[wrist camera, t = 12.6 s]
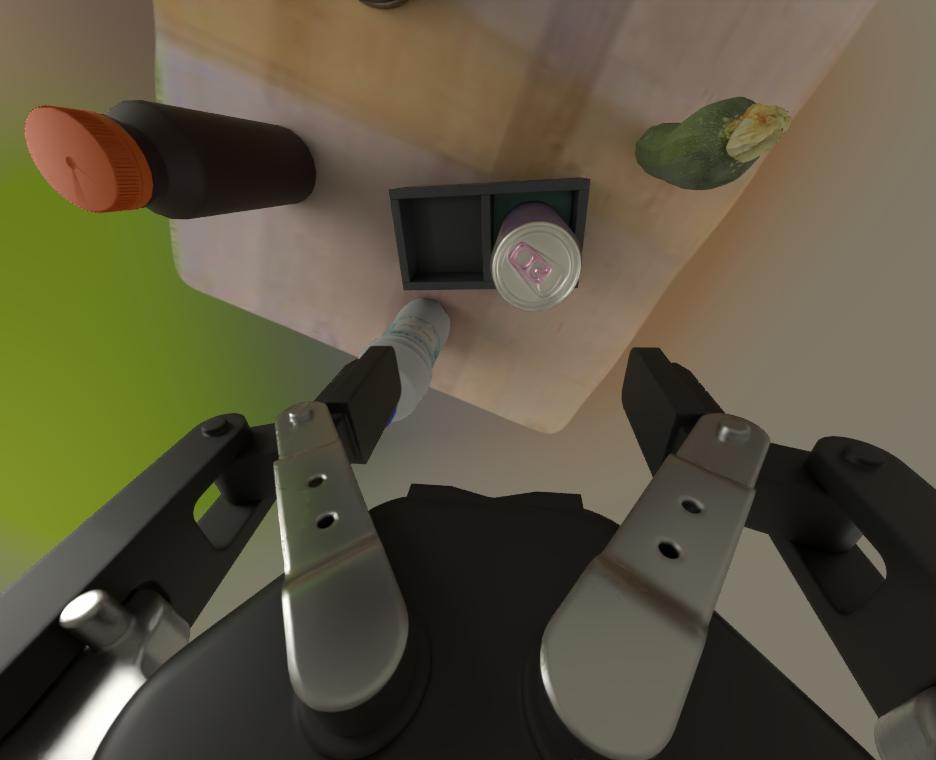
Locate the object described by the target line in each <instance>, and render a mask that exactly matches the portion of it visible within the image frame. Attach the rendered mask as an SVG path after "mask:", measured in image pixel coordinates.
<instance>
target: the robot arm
mask: <svg viewBox="0 0 936 760" xmlns="http://www.w3.org/2000/svg"><path fill="white" fill-rule="evenodd" d="M359 1H361V2H362V3H364V4H366V5H368V6H371V7H374V8H378V9H390V8H395V7H398V6H400V5H402V4H404V3H406V2H407V1H409V0H359ZM400 397H401V380H400V375H399V369H398V364H397V359H396V353H395V350H394V348H393V346H370V347H369V348H368V349H367V350H366V352H365V353H364V354H363V355H362V356H361V357H360V359H356V360H354V361H352V362H351V363H349V364H347V365H346V366H345V367H344V368H343V369H342V370H341V371H340V372H339V373H338V375H337V376H336V377H335V378H334V379H333V380H332V382H330V383H329V385H328V386H327V387H326V388H325V389H324V390H323V391H322V392H321V393H320V395H319V396H318V397H317V398H316V399H315V400H314V401H307V402H302V403H299V404H296V405H293V406H291V407H289V408H287V409H286V410H284V411H283V412H281V413H280V414H279V415H278V416H277V418H276V420H275V423H273V424H267V425H261V426H255V427H249V425H248V423H247V421H246V419H245V417H244V416H243V415H241V414H237V413H231V414H224V415H219V416H216V417H214V418H211V419H208V420H207V421H204V422H202V423H201V424H199V425H197V426H196V427H195V428H193V429H192V430H191V431H190V432H189V433H188V434H186V435H185V436H184V437H183V438H182V439H181V440H179V441H178V442H177V443H176V444H175V445H174V446H172V447H171V448H170V449H169V450H168V451H167V452H166V453H164V454H163V455H162V456H161V457H160V458H158V459H157V460H156V461H155V462H154V463H153V464H151V465H150V466H149V467H148V468H147V469H146V470H144V472H142V473H141V474H140V475H139V476H137V477H136V478H135V479H134V480H133V481H132V482H130V483H129V484H128V485H127V486H126V487H125V488H124V489H122V490H121V491H120V492H119V493H118V494H116V495H115V496H114V497H113V498H112V499H111V500H110V501H108V502H107V503H106V504H105V505H104V506H102V507H101V508H100V509H99V510H98V511H97V512H95V513H94V514H93V515H92V516H91V517H90V518H88V519H87V520H86V521H85V522H84V523H83V524H81V525H80V526H79V527H78V528H77V529H76V530H74V531H73V532H72V533H71V534H70V535H69V536H67V537H66V538H65V539H64V540H63V541H62V542H60V543H59V544H58V545H57V546H56V547H55V548H54V549H52V550H51V551H50V552H49V553H48V554H46V555H45V556H44V557H43V558H42V559H41V560H40V561H38V562H37V563H36V564H35V565H34V566H32V567H31V568H30V569H29V570H28V571H27V572H25V573H24V574H23V575H22V576H21V577H20V578H18V579H17V580H16V581H15V582H14V583H13V584H11V585H10V586H9V587H8V588H7V589H6V590H4V591H3V592H2V593H1V594H0V760H875V759H874V758H873V757H872V756H871V755H870V754H869V753H868V752H867V751H866V750H865V749H864V748H863V747H862V746H861V745H860V744H859V743H858V742H857V741H855V740H854V739H853V738H852V737H851V736H850V735H849V734H848V733H847V732H846V731H845V730H844V729H843V728H841V727H840V726H839V725H838V724H837V723H836V722H835V721H834V720H833V719H832V718H831V717H829V716H828V715H827V714H826V713H825V712H824V711H823V710H822V709H821V708H820V707H819V706H818V705H816V704H815V703H814V702H813V701H812V700H811V699H810V698H809V697H808V696H807V695H806V694H805V693H804V692H803V691H801V690H800V689H799V688H798V687H797V686H796V685H795V684H794V683H793V682H791V680H789V679H788V678H787V677H786V676H785V675H784V674H783V673H782V672H781V671H780V670H779V669H777V667H775V666H774V665H773V664H772V663H771V662H770V661H769V660H768V659H767V658H766V657H765V656H764V655H762V654H761V653H760V652H759V651H758V650H757V649H756V648H755V647H754V646H753V645H752V644H751V643H749V642H748V641H747V640H746V639H745V638H744V637H743V636H742V635H741V634H740V633H739V632H738V631H737V630H735V629H734V628H733V627H732V626H731V625H730V624H729V623H728V622H727V621H726V620H725V619H724V618H722V617H721V616H720V615H719V614H718V613H717V612H716V611H715V610H714V608H715V605H716V603H717V600H718V597H719V594H720V592H721V588H722V586H723V583H724V580H725V578H726V575H727V572H728V569H729V566H730V564H731V561H732V558H733V555H734V552H735V549H736V547H737V544H738V541H739V539H740V535H741V533H742V530H743V527H747V528H750V529H753V530H757V531H760V532H763V533H766V534H769V536H770V538H771V540H772V541H773V543H774V544H775V546H776V548H777V549H778V551H779V553H780V555H781V556H782V558H783V560H784V561H785V563H786V564H787V566H788V568H789V570H790V571H791V573H792V575H793V576H794V578H795V580H796V581H797V583H798V585H799V586H800V588H801V590H802V591H803V593H804V595H805V596H806V598H807V600H808V601H809V603H810V604H811V606H812V608H813V610H814V611H815V613H816V615H817V616H818V618H819V620H820V621H821V623H822V625H823V626H824V628H825V630H826V631H827V633H828V635H829V636H830V638H831V640H832V641H833V643H834V645H835V646H836V648H837V649H838V651H839V653H840V654H841V656H842V658H843V660H844V661H845V663H846V665H847V666H848V668H849V670H850V671H851V673H852V675H853V676H854V678H855V680H856V681H857V683H858V685H859V686H860V688H861V690H862V691H863V693H864V695H865V696H866V698H867V700H868V701H869V703H870V705H871V706H872V708H873V710H874V711H875V713H876V715H877V716H878V718H879V719H878V720H877V722H876V725H875V728H874V738H875V744H876V747H877V750H878V753H879V755H880V758H881V760H936V489H934V488H933V487H932V486H931V485H930V484H928V483H927V482H926V481H925V480H924V479H923V478H921V477H920V476H919V475H918V474H916V473H915V472H914V471H913V470H912V469H911V468H909V467H908V466H907V465H906V464H904V463H903V462H902V461H901V460H899V459H898V458H897V457H895V456H893V455H892V454H890V453H889V452H887V451H884V450H883V449H880V448H878V447H876V446H874V445H871V444H868V443H866V442H863V441H859V440H855V439H851V438H846V437H838V436H837V437H836V436H831V437H824V438H821V439H819V440H818V442H817V443H816V445H815V446H814V448H813V449H812V451H811V452H810V451H805V450H801V449H796V448H791V447H787V446H782V445H778V444H774V443H770V438H769V436H768V434H767V433H766V432H765V431H764V430H763V429H761V428H760V427H759V426H757V425H756V424H754V423H752V422H750V421H748V420H746V419H744V418H741V417H738V416H734V415H730V414H725V412H724V411H723V410H722V409H721V408H720V406H719V405H718V404H717V403H716V402H715V401H714V399H713V398H712V397H711V396H710V395H709V393H708V392H707V391H705V388H704V387H703V386H702V385H701V383H698V380H697V379H696V378H695V376H694V375H693V374H692V373H691V372H690V371H689V370H687V369H686V368H684V367H682V366H681V365H679V364H677V363H671V362H670V361H669V360H668V359H667V357H666V356H665V355H664V353H663V352H662V351H661V349H660V348H637V347H634V348H632V350H631V351H630V354H629V359H628V364H627V368H626V373H625V378H624V383H623V388H622V404H623V408H624V410H625V412H626V415H627V417H628V419H629V422H630V424H631V426H632V429H633V431H634V434H635V436H636V438H637V441H638V443H639V446H640V448H641V450H642V453H643V455H644V457H645V460H646V462H647V464H648V467H649V469H650V471H651V474H652V476H653V479H652V480H651V482H650V483H649V484H648V486H647V488H646V489H645V490H644V492H643V493H642V495H641V496H640V498H639V499H638V501H637V502H636V504H635V505H634V507H633V508H632V510H631V511H630V512H629V514H628V515H627V517H626V518H625V520H624V521H623V523H622V524H621V526H620V525H619V524H617V523H615V522H614V521H612V520H610V519H608V518H606V517H604V516H602V515H600V514H597V513H595V512H593V511H590V510H587V509H583V504H582V498H581V494H567V493H552V492H531V493H524V494H517V495H510V496H503V497H496V498H492V497H486V496H483V495H480V494H476V493H473V492H470V491H466V490H462V489H459V488H456V487H452V486H442V485H441V486H440V485H426V484H411V486H410V489H409V492H408V495H407V497H401V498H397V499H394V500H391V501H388V502H385V503H383V504H381V505H378V506H376V507H374V508H372V509H371V510H369V511H368V509H367V506H366V503H365V501H364V498H363V496H362V493H361V491H360V488H359V486H358V483H357V480H356V478H355V475H354V472H353V470H352V467H351V463H356V464H366V463H367V461H368V459H369V458H370V456H371V454H372V452H373V450H374V448H375V446H376V444H377V442H378V440H379V439H380V437H381V435H382V433H383V431H384V429H385V427H386V425H387V423H388V421H389V419H390V417H391V416H392V414H393V412H394V410H395V408H396V406H397V404H398V402H399V400H400ZM213 482H214V483H215V485H216V486H217V488H218V489H219V491H220V492H221V495H220V496H219V497H218V499H217V500H216V501H215V502H214V503H213V505H212V506H211V507H210V508H209V509H208V511H207V512H206V513H205V514H204V515H203V517H202V518H201V519H200V520H199V521H198V523H196V521H195V520H194V516H193V511H194V507H195V504H196V502H197V500H198V499H199V498H200V497H201V496H202V494H203V493H204V492H205V491H206V490H207V489H208V488H209V486H211V484H212V483H213ZM276 499H277V503H278V513H279V522H280V531H281V541H282V550H283V558H284V568H285V572H284V573H283V574H282V575H280V576H279V577H278V578H276V579H275V580H273V581H272V582H271V583H269V584H268V585H267V586H265V587H264V588H263V589H261V590H260V591H259V592H257V593H256V594H255V595H253V596H252V597H251V598H249V599H248V600H247V601H245V602H244V603H242V604H241V605H240V606H238V607H237V608H236V609H234V610H233V611H232V612H230V613H229V614H228V615H226V616H225V617H224V618H222V619H221V620H219V621H218V622H217V623H215V624H214V625H213V626H211V627H210V628H209V629H207V630H206V631H205V632H203V633H202V634H201V635H199V636H198V637H197V638H195V639H194V640H193V641H191V642H190V643H188V642H189V638H190V628H191V627H192V625H193V624H194V622H195V621H196V619H197V618H198V616H199V614H200V613H201V611H202V610H203V608H204V607H205V605H206V604H207V603H208V601H209V600H210V598H211V597H212V595H213V594H214V592H215V591H216V589H217V588H218V586H219V584H220V583H221V582H222V580H223V579H224V577H225V575H226V574H227V573H228V571H229V570H230V568H231V566H232V565H233V563H234V562H235V560H236V559H237V557H238V556H239V554H240V553H241V551H242V550H243V548H244V547H245V545H246V544H247V542H248V541H249V539H250V538H251V536H252V535H253V533H254V532H255V530H256V529H257V527H258V526H259V524H260V523H261V521H262V520H263V518H264V517H265V515H266V514H267V512H268V511H269V509H270V508H271V506H272V505H273V503H274V502H275V500H276ZM863 535H864V536H865V537H866V538H867V539H868V540H869V542H870V543H871V544H872V545H873V546H874V548H875V549H876V550H877V551H878V552H879V554H880V555H881V557H882V558H883V560H884V563H885V566H886V571H887V575H886V580H885V579H884V578H883V576H882V575H881V574H880V573H879V571H878V570H877V569H876V568H875V566H874V565H873V564H872V563H871V562H870V560H869V559H868V558H867V557H866V556H865V554H864V553H863V552H862V551H861V549H860V548H859V547H858V546H857V545H856V543H857V541H858V540H859V539H860V538H861V537H862V536H863Z"/></svg>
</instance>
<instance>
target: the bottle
mask: <svg viewBox="0 0 936 760" xmlns="http://www.w3.org/2000/svg"><path fill="white" fill-rule="evenodd" d="M449 332H450V317H449V315H448V314H447V313H446V312H445V311H444V310H443V308H442V307H441V305H440V303H438V302H437V301H430V300H425V299H422V298H418V299H415V300H413V301H411V302H409V303H408V304H406V305H405V306H404V307H403V308H402V309H401V310H400V312H399V313H398V315H397V316H396V318H395V320H394V321H393V323H392V324H391V325H390V326H389V327H388V329H387V330H386V331H385V332H384V333H383V334H382V336H381V337H380V338H377V339H375V340H374V341H372V342H371V343H370V344H369V345H368V346H367V347H366V348H365V349H364V350H363V351H362V352H361V353H360V355H359V357H358V359H360V357H361V356H362V355H363V354H364V353H365V352H366V350H367V349H368V348H369V347H370V346H393V348H394V350H395V353H396V359H397V364H398V369H399V375H400V380H401V397H400V400H399V402H398V404H397V406H396V408H395V410H394V412H393V414H392V416H391V417H390V419H389V421H388V423H387V425H386V427H387V426H388V425H389V424H390V423H391V422H394V421H399V420H402V419H404V418H405V417H407V416H409V415H410V413H412V411H413V410H414V409H415V407H416V406H417V404H418V403H419V401H420V400H421V399H422V398H423V397H424V395H425V394H426V392H427V390H428V388H429V383H430V381H431V378H432V368H433V366H434V364H435V361H436V359H437V357H438V355H439V352H440V351H441V349H442V348H443V346H444V344H445V343H446V341H447V339H448V336H449Z"/></svg>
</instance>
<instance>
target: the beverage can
mask: <svg viewBox="0 0 936 760" xmlns="http://www.w3.org/2000/svg"><path fill="white" fill-rule="evenodd" d="M581 266H582V253H581V248H580V244H579V242H578V240H577V238H576V236H575V234H574V233H573V232H572V230H571V229H570V228H569V227H568V226H567V224H566V223H565V222H564V221H563V220H562V219H561V217H560V216H559V215H558V214H557V213H556V211H555V210H554V209H553V208H552V207H551V206H549V205H548V204H546V203H544V202H541V201H536V200H531V201H525V202H522V203H520V204H518V205H516V206H515V207H514V208H512V209H511V210H510V211H509V213H508V214H507V215H506V217H505V219H504V221H503V223H502V226H501V229H500V231H499V234H498V237H497V240H496V243H495V246H494V249H493V252H492V255H491V262H490V269H491V276H492V279H493V282H494V285H495V287H496V289H497V290H498V292H499V294H500V295H501V296H502V298H503V299H504V300H505V301H507V302H508V303H509V304H511V305H512V306H514V307H516V308H518V309H521V310H525V311H542V310H546V309H549V308H552V307H554V306H556V305H558V304H559V303H561V302H562V301H563V300H564V299H566V298H567V297H568V296H569V294H570V293H571V292H572V290H573V289H574V287H575V286H576V284H577V281H578V279H579V276H580V271H581Z"/></svg>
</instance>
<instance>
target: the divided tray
mask: <svg viewBox="0 0 936 760" xmlns="http://www.w3.org/2000/svg"><path fill="white" fill-rule="evenodd" d="M589 186H590V179H588V178H564V179H546V180H528V181H510V182H491V183H473V184H455V185H437V186H419V187H403V188H397V189H390V190H389V195H390V199H391V200H390V201H391V208H392V215H393V222H394V228H395V235H396V242H397V249H398V255H399V262H400V269H401V275H402V282H403V289H404V290H453V289H496V287H495V285H494V282H493V279H492V276H491V269H490V262H491V255H492V252H493V249H494V246H495V243H496V240H497V237H498V234H499V231H500V229H501V226H502V223H503V221H504V219H505V217H506V215H507V214H508V213H509V211H510V210H511V209H512V208H514V207H515V206H516V205H518V204H520V203H522V202H525V201H531V200H536V201H541V202H544V203H546V204H548V205H549V206H551V207H552V208H553V209H554V210H555V211H556V213H557V214H558V215H559V216H560V217H561V219H562V220H563V221H564V222H565V223H566V224H567V226H568V227H569V228H570V229H571V230H572V232H573V233H574V234H575V236H576V238H577V240H578V242H579V244H580V248H581V253H582V248H583V239H584V230H585V222H586V213H587V204H588V195H589ZM578 283H579V279H578V281H577V284H576V286H575V287H574V288H578Z"/></svg>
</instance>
